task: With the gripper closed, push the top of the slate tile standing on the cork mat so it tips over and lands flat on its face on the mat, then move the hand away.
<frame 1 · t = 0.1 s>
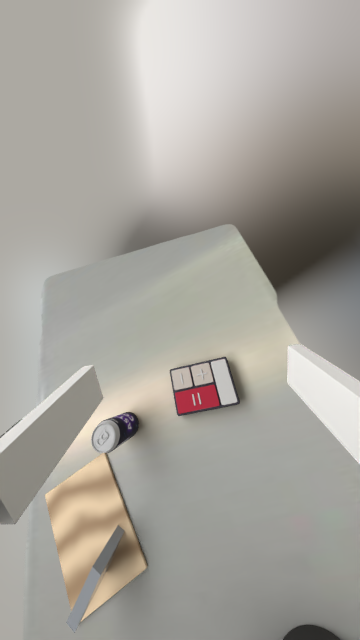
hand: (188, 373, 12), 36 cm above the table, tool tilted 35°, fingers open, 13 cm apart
calculator: (203, 385, 45), on the table
cork mat: (92, 526, 37), on the table
beverage can: (129, 423, 44), on the table
slate tile: (112, 547, 35), point 1 cm above the table, touching cork mat
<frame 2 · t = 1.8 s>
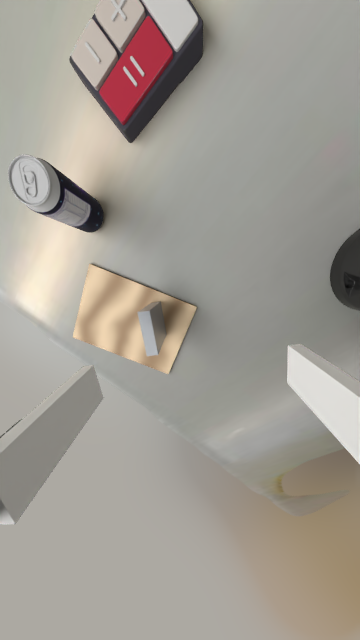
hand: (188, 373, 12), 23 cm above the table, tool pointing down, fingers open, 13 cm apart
calculator: (140, 72, 25), on the table
cork mat: (132, 322, 35), on the table
beverage can: (91, 216, 31), on the table
slate tile: (159, 318, 34), point 1 cm above the table, touching cork mat
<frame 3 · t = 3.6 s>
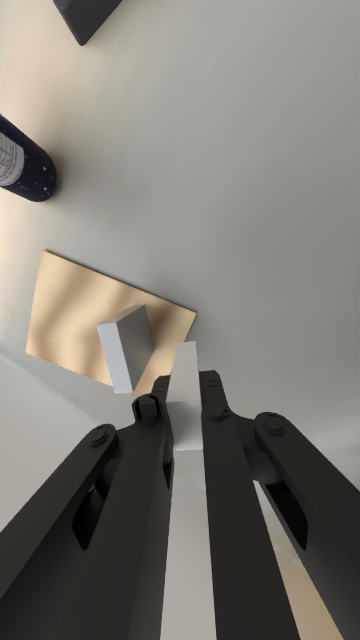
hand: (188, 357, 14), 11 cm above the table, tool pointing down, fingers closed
cork mat: (106, 333, 25), on the table
beverage can: (41, 179, 21), on the table
slate tile: (143, 329, 24), point 1 cm above the table, touching cork mat
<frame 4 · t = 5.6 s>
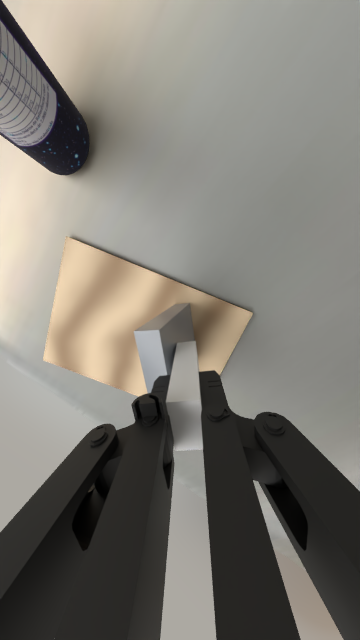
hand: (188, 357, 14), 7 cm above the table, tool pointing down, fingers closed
cork mat: (140, 336, 21), on the table
beverage can: (68, 147, 17), on the table
slate tile: (186, 332, 20), point 1 cm above the table, tilted 12°, touching cork mat
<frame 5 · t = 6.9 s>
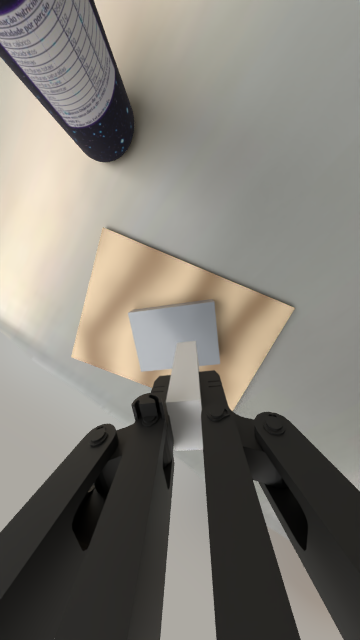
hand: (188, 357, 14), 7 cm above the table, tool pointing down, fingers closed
cork mat: (174, 332, 21), on the table
beverage can: (108, 133, 16), on the table
slate tile: (216, 331, 19), point 1 cm above the table, tilted 90°, touching cork mat
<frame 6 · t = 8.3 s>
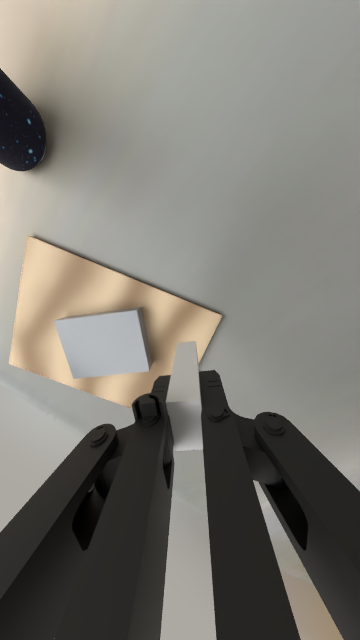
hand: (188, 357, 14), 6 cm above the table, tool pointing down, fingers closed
cork mat: (110, 339, 21), on the table
beverage can: (26, 142, 16), on the table
slate tile: (145, 339, 19), point 1 cm above the table, tilted 90°, touching cork mat
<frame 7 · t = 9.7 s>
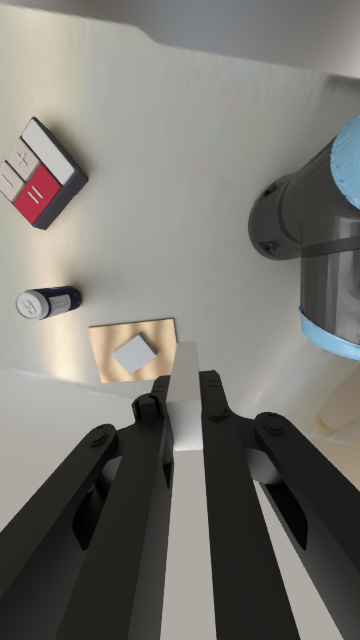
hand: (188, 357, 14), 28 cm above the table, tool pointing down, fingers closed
calculator: (48, 185, 36), on the table
cork mat: (135, 352, 45), on the table
beverage can: (72, 297, 42), on the table
slate tile: (148, 344, 42), point 1 cm above the table, tilted 90°, touching cork mat
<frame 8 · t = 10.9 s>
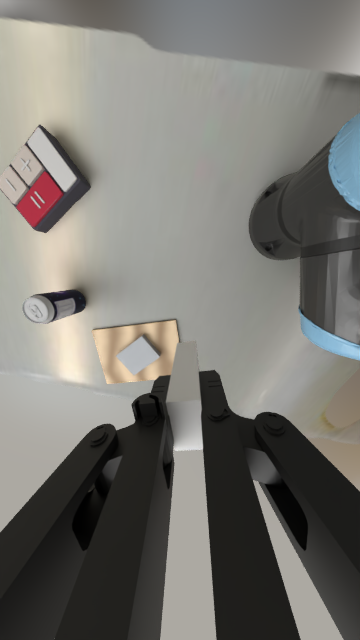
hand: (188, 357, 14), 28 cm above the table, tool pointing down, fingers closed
calculator: (51, 189, 37), on the table
cork mat: (139, 353, 46), on the table
beverage can: (77, 300, 43), on the table
slate tile: (151, 345, 43), point 1 cm above the table, tilted 90°, touching cork mat
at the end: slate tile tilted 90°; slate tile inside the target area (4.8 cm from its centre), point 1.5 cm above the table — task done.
